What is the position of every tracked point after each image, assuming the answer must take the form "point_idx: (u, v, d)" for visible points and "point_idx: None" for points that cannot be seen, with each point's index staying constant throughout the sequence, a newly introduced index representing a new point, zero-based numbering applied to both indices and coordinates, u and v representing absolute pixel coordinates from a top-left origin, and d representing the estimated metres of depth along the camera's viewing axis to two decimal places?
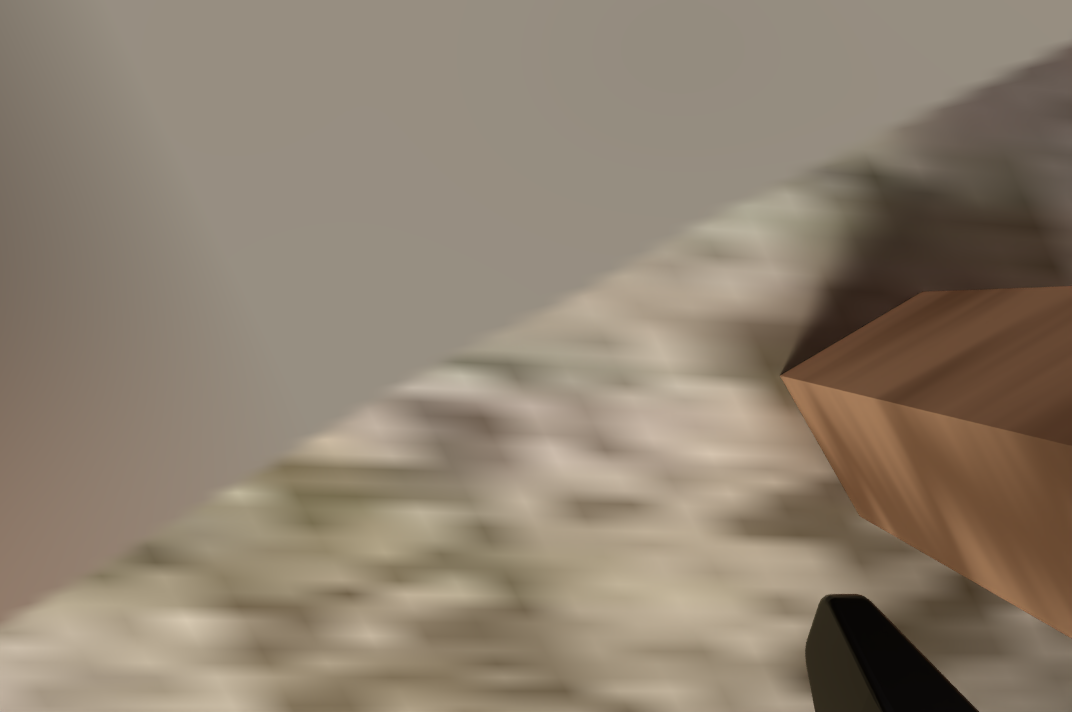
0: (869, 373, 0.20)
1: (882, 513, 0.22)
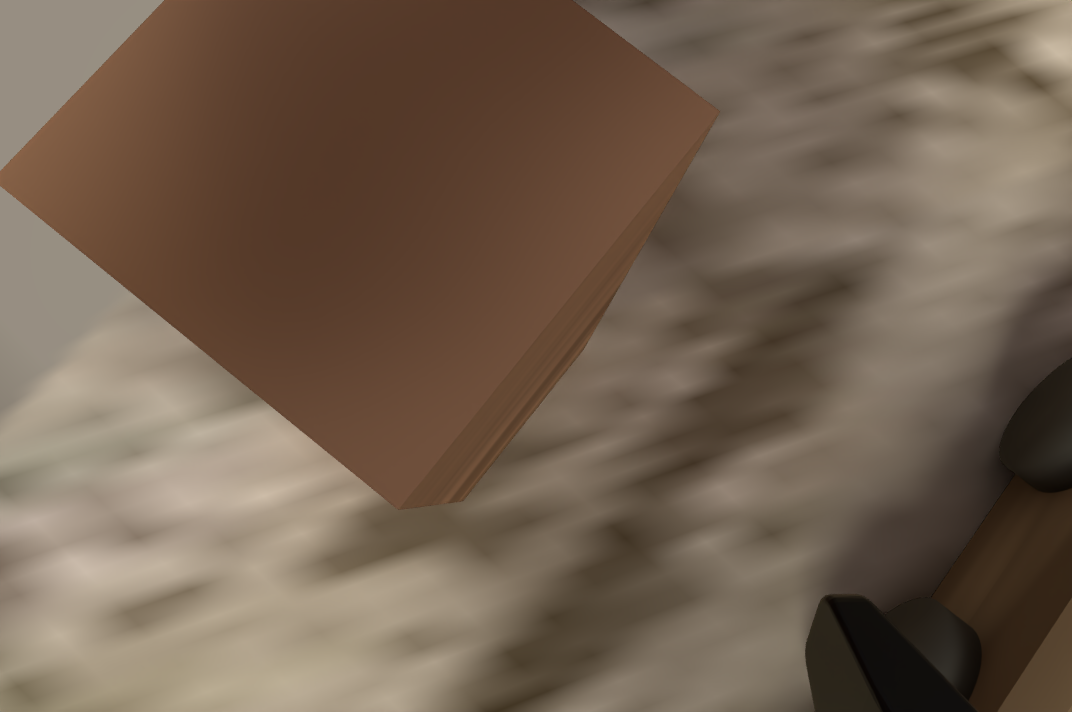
0: None
1: None
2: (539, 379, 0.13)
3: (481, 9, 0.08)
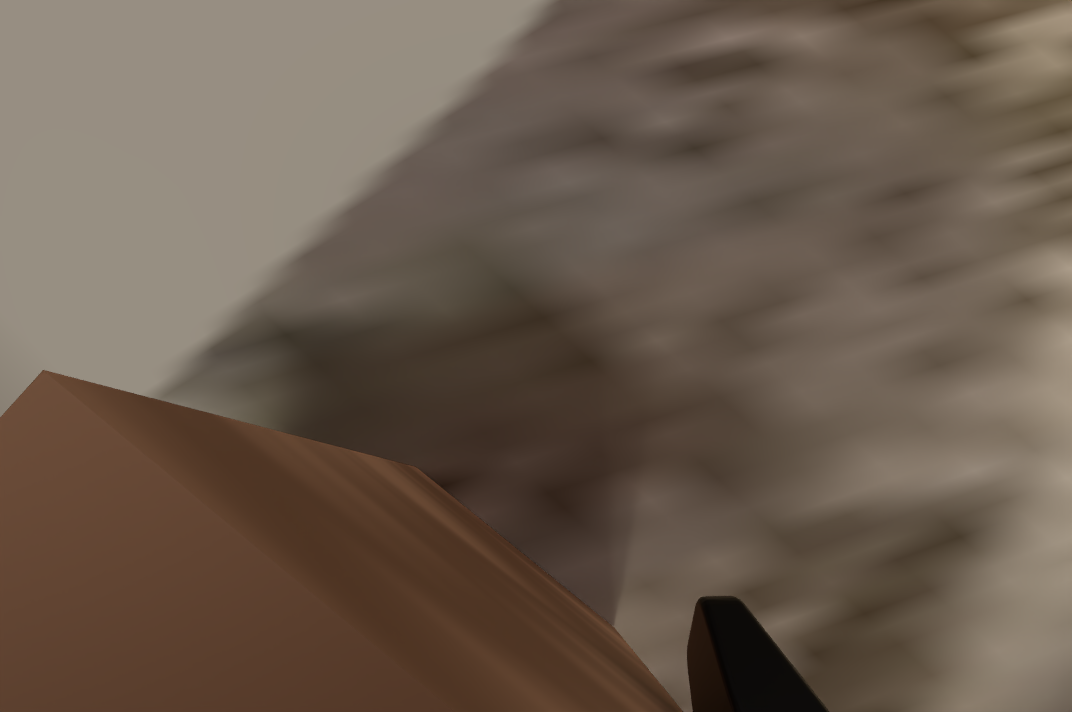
0: None
1: None
2: None
3: None
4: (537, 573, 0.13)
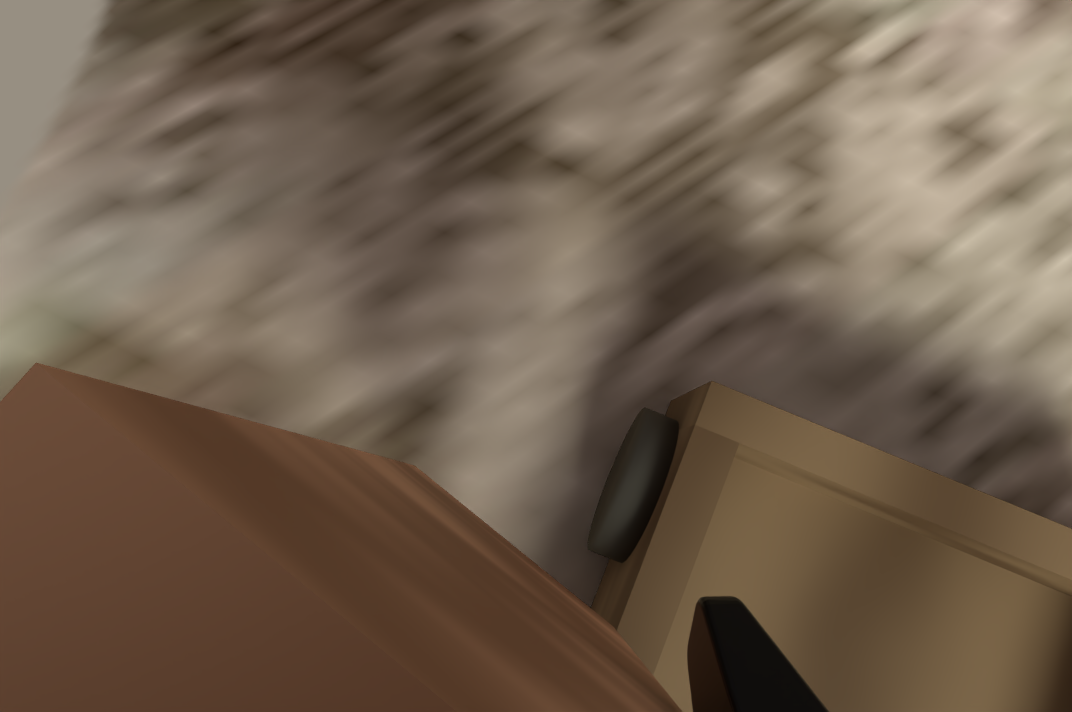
0: None
1: None
2: None
3: None
4: (535, 571, 0.13)
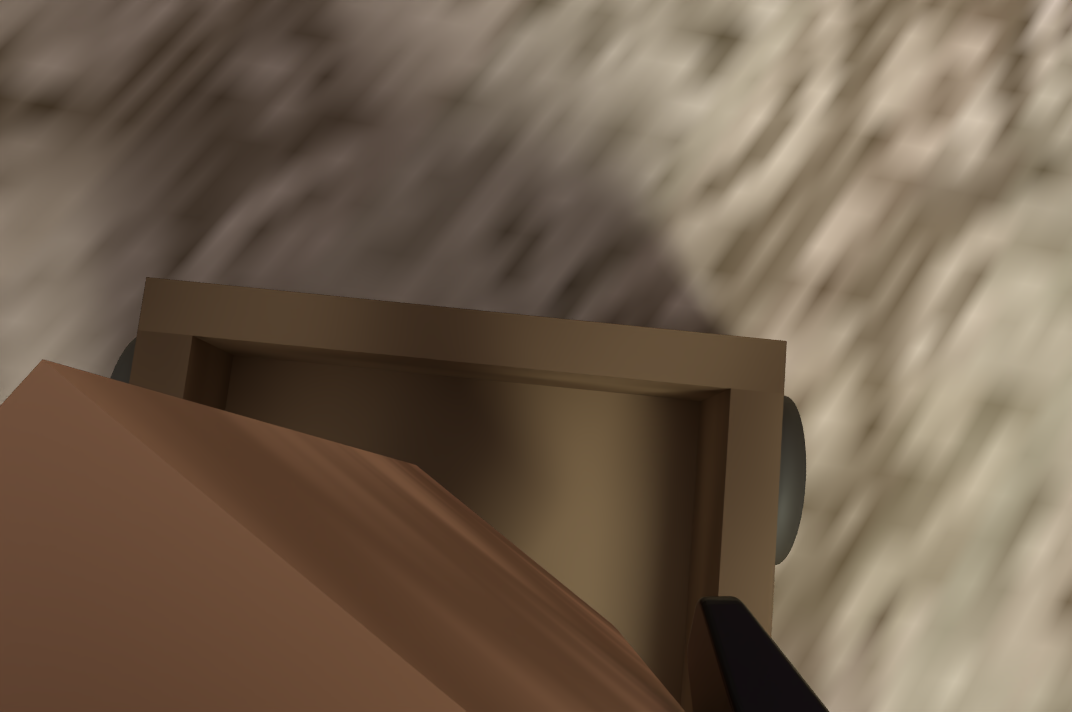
0: None
1: None
2: None
3: None
4: (537, 571, 0.13)
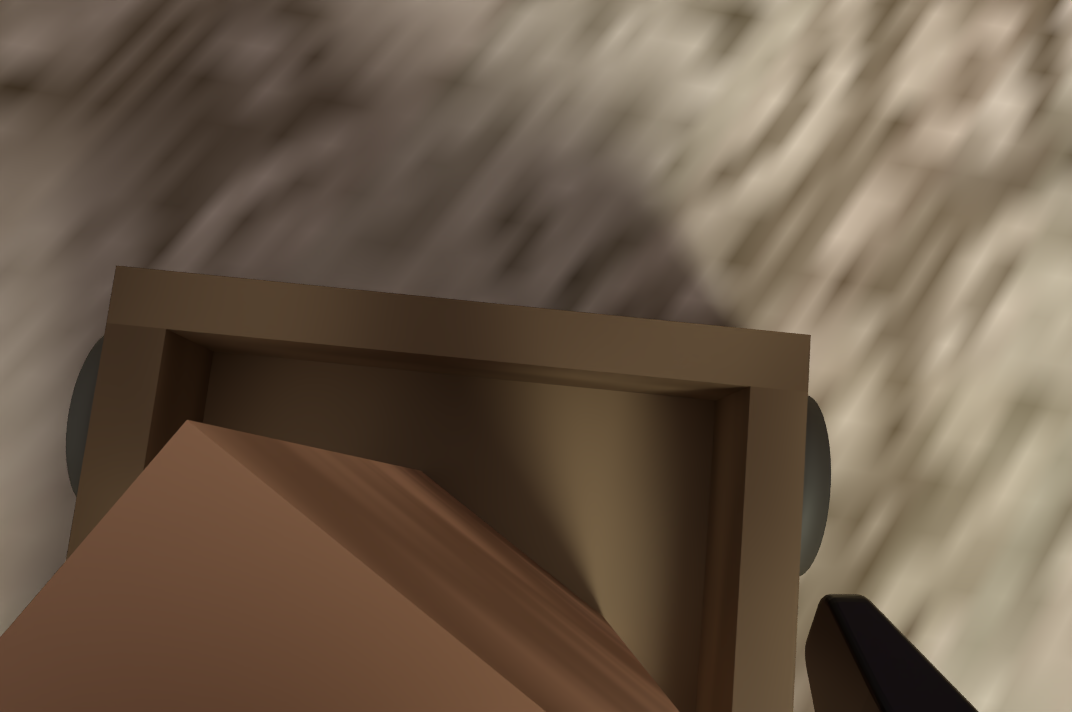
0: None
1: None
2: None
3: None
4: (532, 566, 0.15)
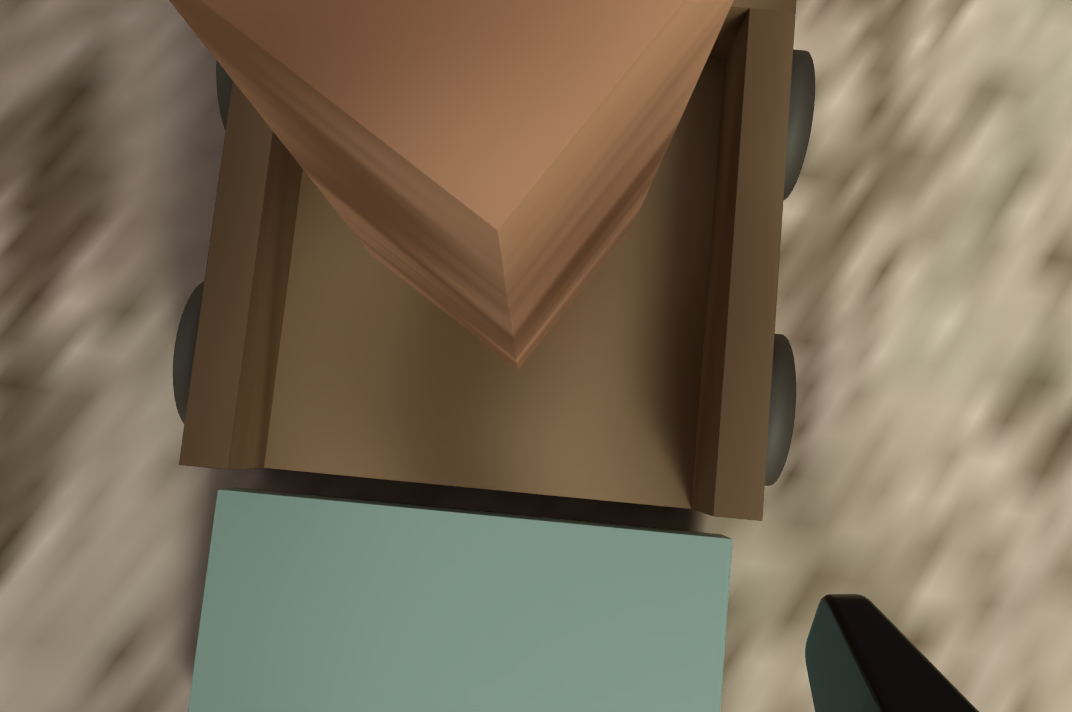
0: None
1: (490, 340, 0.19)
2: (603, 201, 0.13)
3: None
4: None
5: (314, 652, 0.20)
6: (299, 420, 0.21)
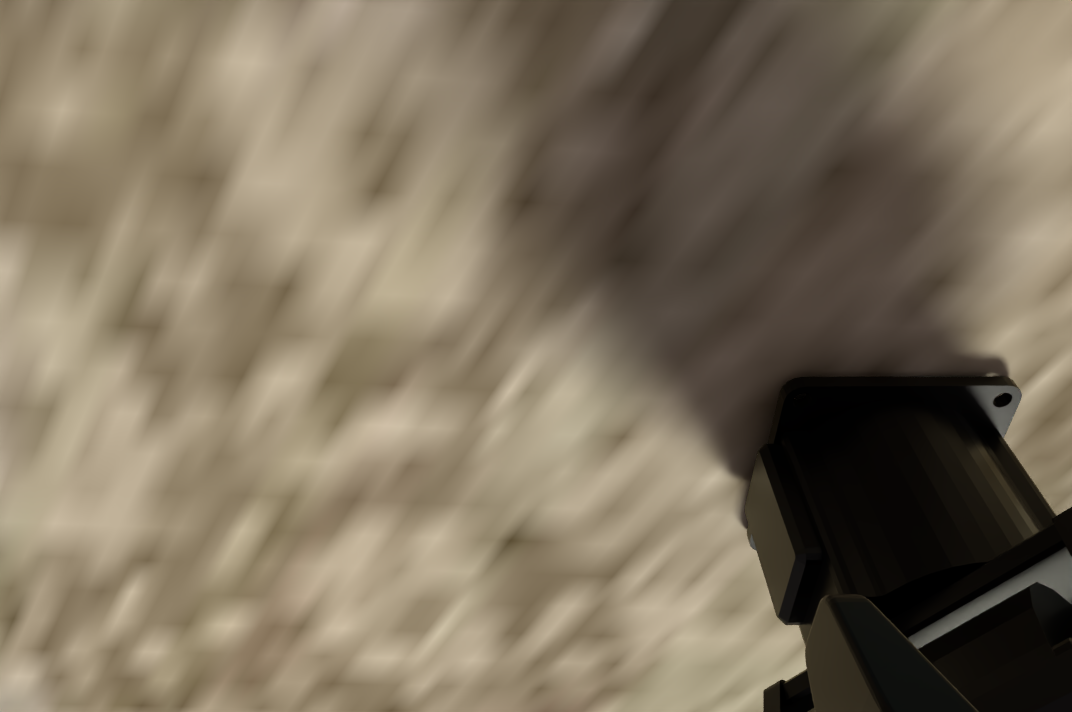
0: None
1: None
2: None
3: None
4: None
5: None
6: None
